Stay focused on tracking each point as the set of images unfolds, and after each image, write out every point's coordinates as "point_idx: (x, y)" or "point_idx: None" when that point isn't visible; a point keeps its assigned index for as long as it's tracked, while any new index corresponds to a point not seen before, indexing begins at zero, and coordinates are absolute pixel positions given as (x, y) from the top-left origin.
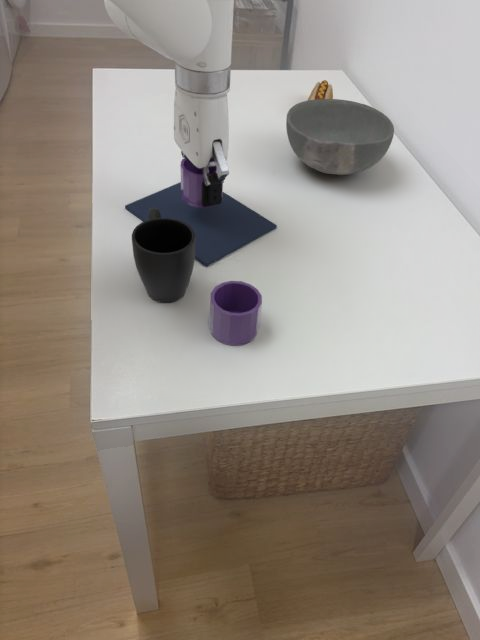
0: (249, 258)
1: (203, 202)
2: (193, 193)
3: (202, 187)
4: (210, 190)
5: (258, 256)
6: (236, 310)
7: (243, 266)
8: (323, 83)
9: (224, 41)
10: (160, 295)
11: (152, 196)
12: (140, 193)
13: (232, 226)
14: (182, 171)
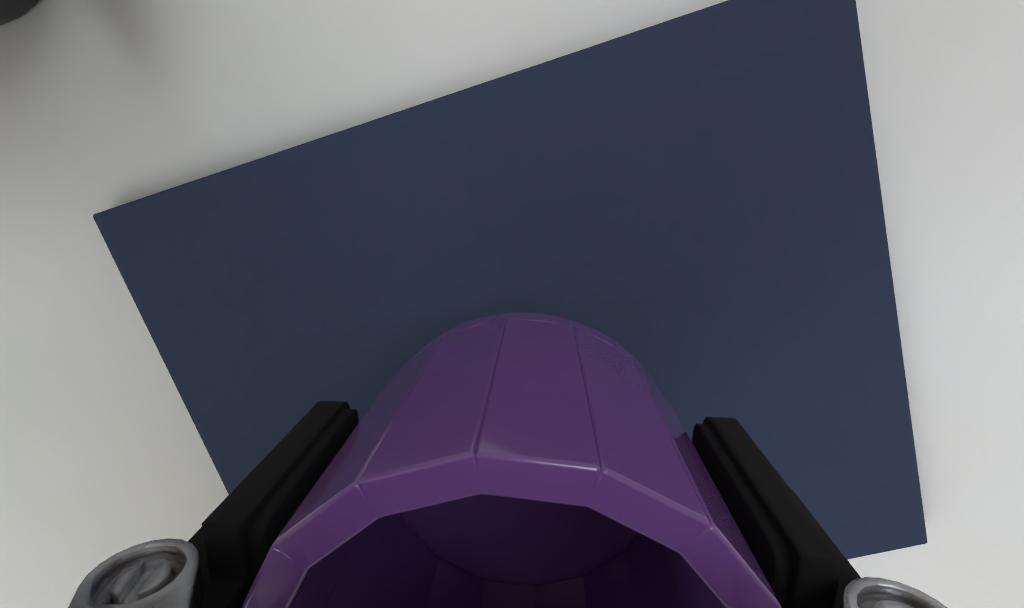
0: (132, 438)
1: (307, 418)
2: (388, 393)
3: (249, 494)
4: (196, 538)
5: (138, 481)
6: None
7: (80, 384)
8: None
9: None
10: None
11: (853, 196)
12: (953, 147)
13: None
14: (511, 432)
